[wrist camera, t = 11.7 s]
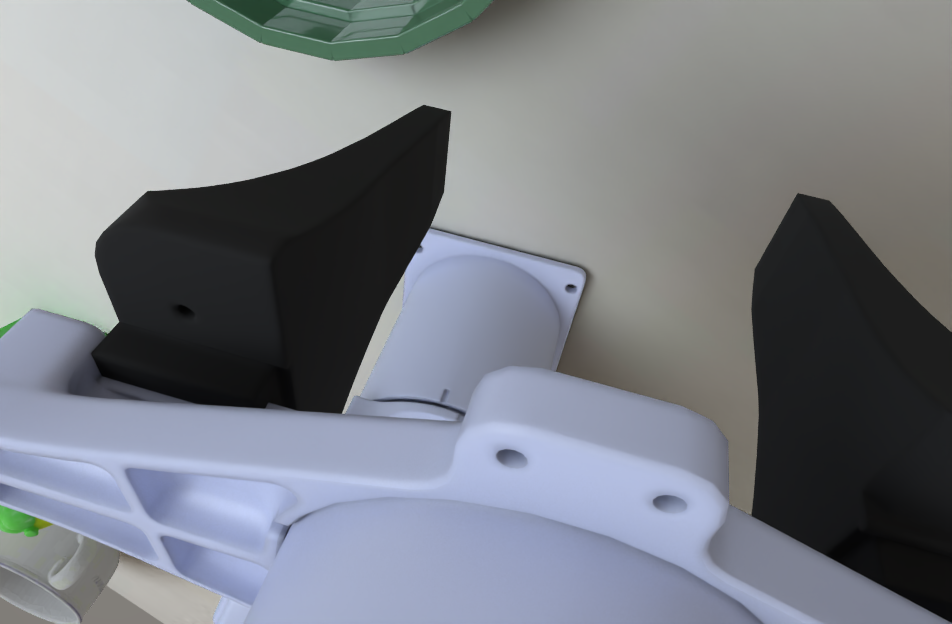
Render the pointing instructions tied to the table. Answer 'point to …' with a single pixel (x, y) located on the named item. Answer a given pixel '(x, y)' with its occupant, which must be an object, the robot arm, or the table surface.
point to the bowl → (345, 23)
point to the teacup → (54, 572)
